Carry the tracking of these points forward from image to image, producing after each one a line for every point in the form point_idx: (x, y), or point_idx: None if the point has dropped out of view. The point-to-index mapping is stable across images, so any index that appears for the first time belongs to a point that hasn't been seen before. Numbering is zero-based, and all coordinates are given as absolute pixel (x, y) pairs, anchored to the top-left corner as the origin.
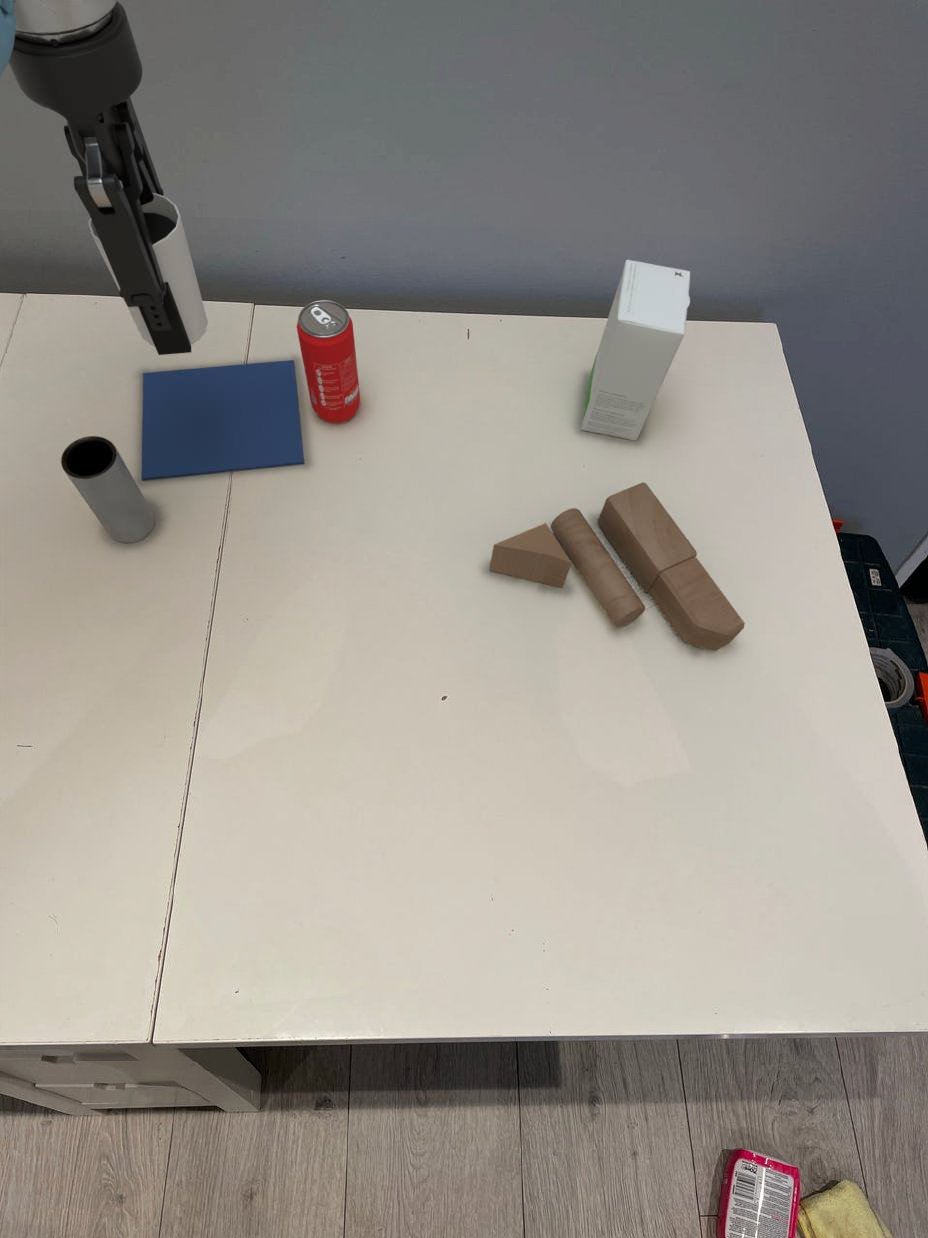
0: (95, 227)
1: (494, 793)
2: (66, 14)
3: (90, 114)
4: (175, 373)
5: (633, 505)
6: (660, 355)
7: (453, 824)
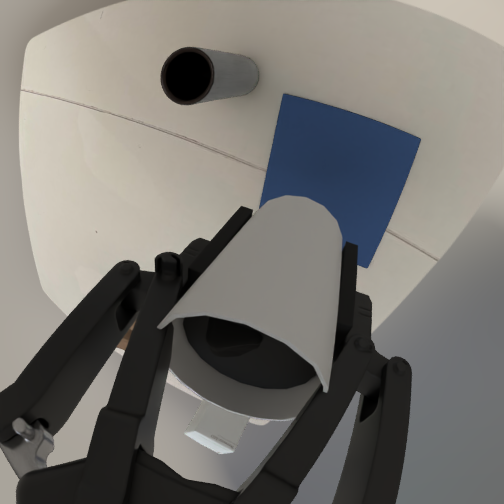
0: (29, 364)
1: (67, 230)
2: None
3: None
4: (405, 167)
5: None
6: (192, 420)
7: (58, 211)
